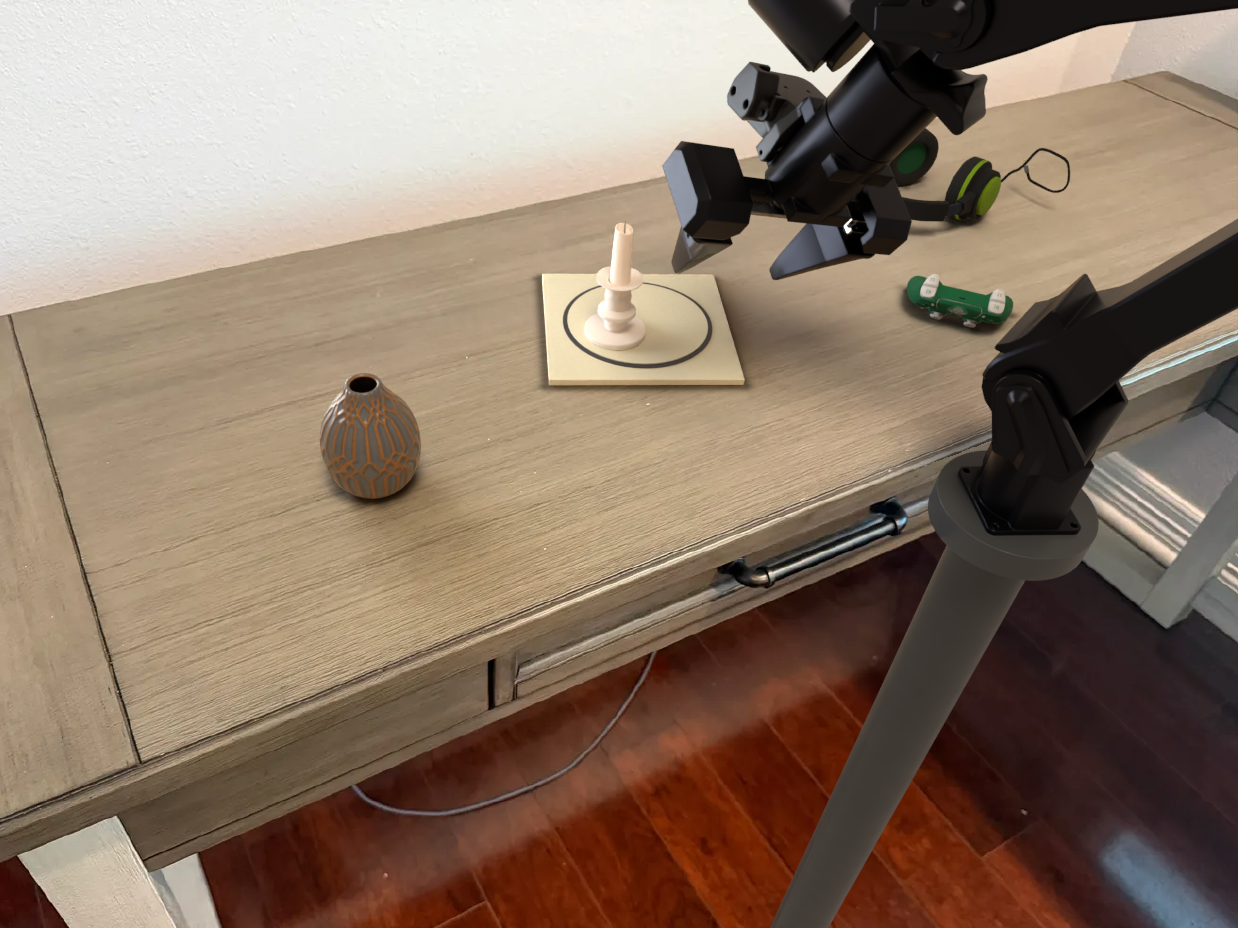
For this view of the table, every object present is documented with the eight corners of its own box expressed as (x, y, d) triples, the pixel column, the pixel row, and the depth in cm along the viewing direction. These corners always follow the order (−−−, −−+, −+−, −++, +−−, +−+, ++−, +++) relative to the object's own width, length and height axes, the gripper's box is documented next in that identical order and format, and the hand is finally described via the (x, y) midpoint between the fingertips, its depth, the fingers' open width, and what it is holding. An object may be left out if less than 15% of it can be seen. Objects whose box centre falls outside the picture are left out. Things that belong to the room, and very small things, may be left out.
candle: (657, 333, 84) (672, 222, 76) (617, 358, 81) (627, 245, 74) (612, 308, 86) (622, 198, 79) (571, 331, 83) (577, 220, 76)
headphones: (1095, 125, 96) (953, 167, 88) (1056, 215, 103) (921, 262, 95) (970, 68, 105) (832, 102, 98) (942, 154, 112) (811, 192, 104)
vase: (310, 472, 71) (291, 375, 65) (392, 436, 74) (382, 340, 68) (356, 527, 67) (341, 430, 61) (442, 487, 70) (435, 391, 64)
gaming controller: (897, 316, 91) (903, 301, 86) (909, 277, 91) (916, 259, 85) (999, 341, 89) (1012, 327, 83) (1012, 301, 89) (1026, 284, 83)
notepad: (743, 385, 80) (745, 377, 80) (549, 385, 79) (549, 377, 79) (712, 279, 92) (714, 272, 91) (541, 279, 91) (542, 271, 90)
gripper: (924, 50, 68) (788, 196, 81) (706, 0, 59) (593, 172, 72) (982, 181, 65) (830, 311, 78) (759, 148, 56) (630, 301, 69)
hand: (724, 271), depth 74 cm, fingers open, 9 cm apart
